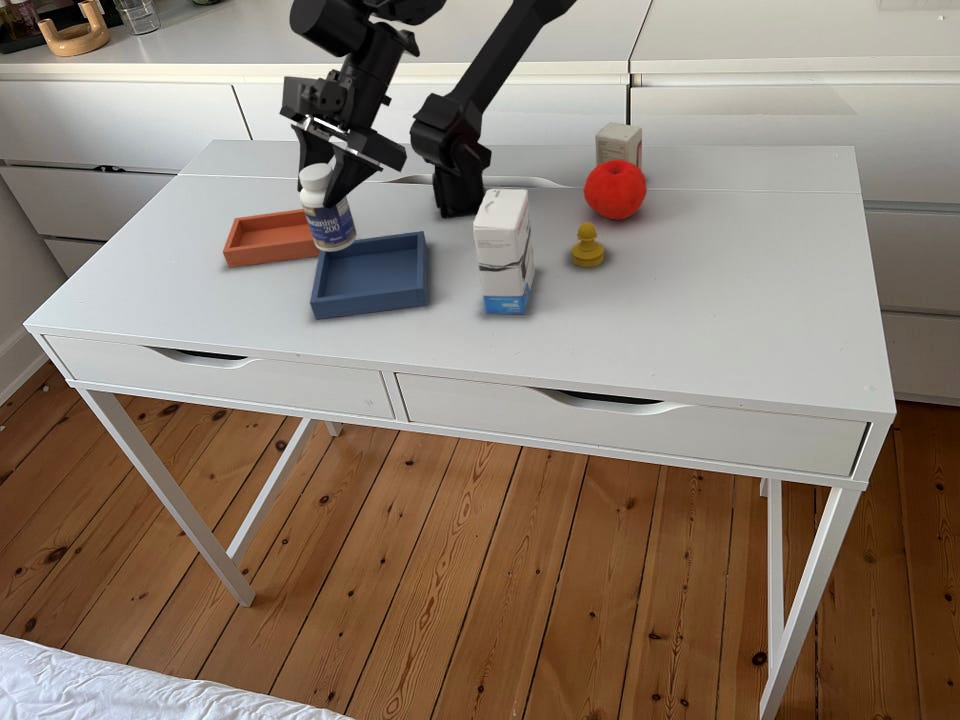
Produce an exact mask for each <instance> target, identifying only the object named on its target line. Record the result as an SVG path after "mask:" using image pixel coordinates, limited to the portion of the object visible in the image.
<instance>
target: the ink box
mask: <svg viewBox="0 0 960 720" xmlns="http://www.w3.org/2000/svg"><path fill="white" fill-rule="evenodd" d="M485 193H486V194H485V196H484V198H483V202H482V204H481V205H480V208H479V211H478V213H477V214H475V218H474V220H473V222H472V225H473V226H472V227H473V228H472V232H473V237H474V245H475V251H476V257H477V264H478V271H479V277H480V284H481V285H480V286H481V291H482V298H483V306H484V312H485V314H494V315H495V314H496V315H524V314H526V310H527V305H528V302H529V298H530V294H531V290H532V287H533V282H534V278H535V274H536V268H535V267H536V266H535V259H534V247H533V237H532V225H531V217H530V216H531V215H530V204H529V190H528V189H508V188H490V189H487V190H486V191H485Z"/></svg>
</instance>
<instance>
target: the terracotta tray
mask: <svg viewBox="0 0 960 720" xmlns="http://www.w3.org/2000/svg"><path fill="white" fill-rule="evenodd" d="M319 253H320V249H319V248H317V247H316V245H315V243H314V240H313V237H312V234H311V231H310V227H309V225H308V221H307V218H306V215H305V212H304V209H303V208H298V209H292V210H291V209H290V210H286V211H285V210H283V211H278V212H277V211H276V212H269V213H261V214H256V215H247V216H241V217H235V218H234V219H233V222H232V225H231V227H230V230H229V233H228V236H227V239H226V241H225V244H224V247H223V249H222V254H223V256H224V259H225V261H226V264H227V266H228V268H229V269H230V268H238V267H247V266H253V265H260V264H268V263H275V262H282V261H290V260H291V261H292V260H298V259H299V260H300V259H306V258H313V257H319Z"/></svg>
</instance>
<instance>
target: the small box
mask: <svg viewBox="0 0 960 720" xmlns="http://www.w3.org/2000/svg"><path fill="white" fill-rule="evenodd" d="M594 138H595V159H596V167H597V166H598V165H599V164H602V163H605V162H608V161H612V160H623V161H627V162H630V163H633V164H634V165H636V166H637V167H638V168H640V170H641V171H642V172H643V127H641V126H637V125H630V124H625V123H618V122H613V121H610V122H608V123H607V124H606V125H605V126H604V127H603V128H601V129H600V130H599V131H598V132H596V134H595V135H594Z"/></svg>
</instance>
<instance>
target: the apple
mask: <svg viewBox="0 0 960 720" xmlns="http://www.w3.org/2000/svg"><path fill="white" fill-rule="evenodd" d="M582 190H583V196H584V200H585V202H586V203H587V205H588V206H589V207H590V208H591V209H592V210H594V211H595V212H596V213H598V214H599V215H600V216H602V217H604V218H606V219H610V220H615V221H620V220H625V219H627V218H629V217H631V216H632V215H634V213H636V212H638V210H639V209H640V207H642V205H643V203H644V201H645V198H646V195H647V191H648V190H647V182H646V175H645V174H644V172H643V170H642V171H641V170H640V168H638V167H637V166H636V165H634V164H633V163H630V162H627V161H623V160H612V161H608V162H605V163H602V164H599V165H598V166H597V165H596V166H595V167H594V168H593V169H592V170H591V171H590V173H589V174H588V176H586V179H585V183H584V186H583V189H582Z"/></svg>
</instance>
